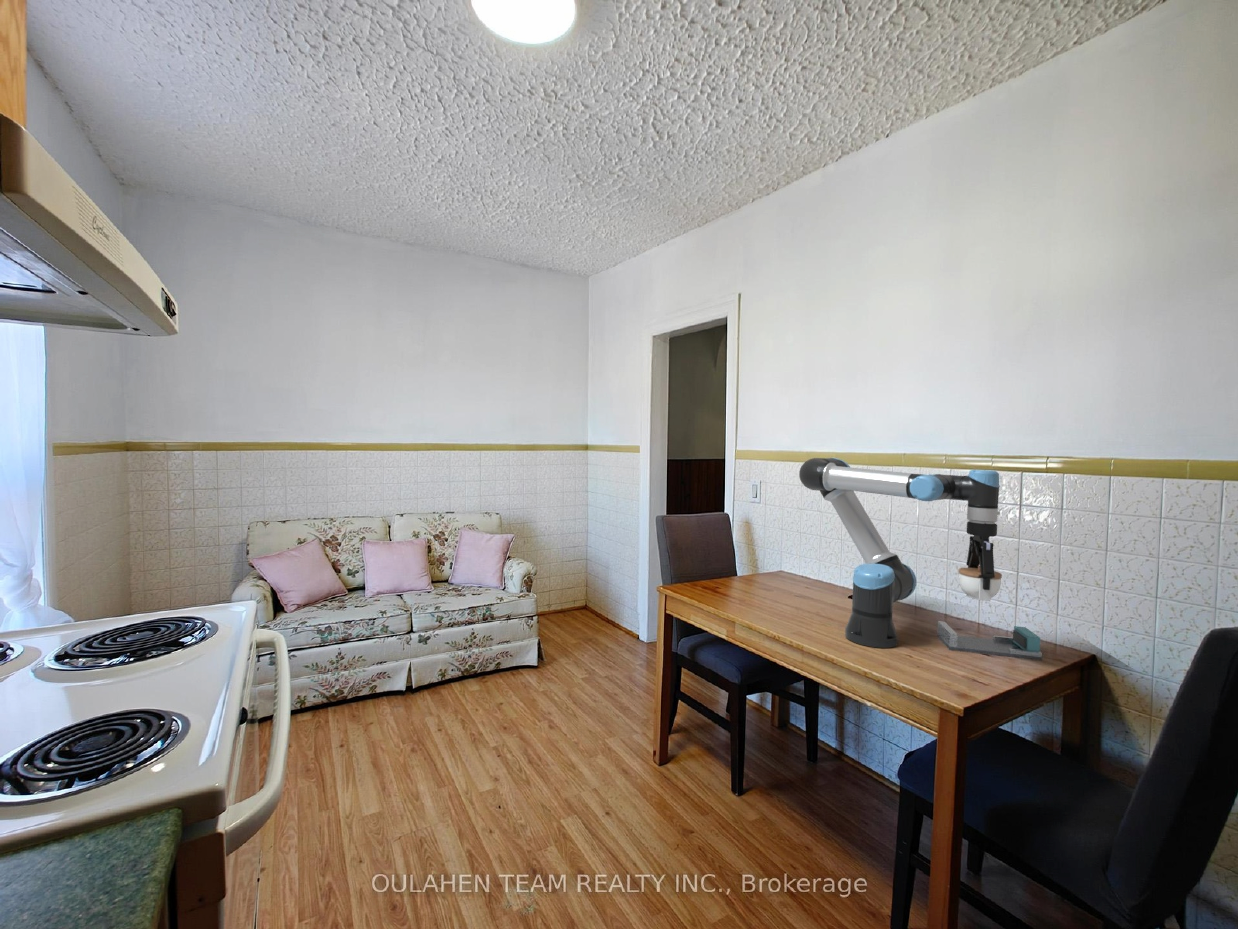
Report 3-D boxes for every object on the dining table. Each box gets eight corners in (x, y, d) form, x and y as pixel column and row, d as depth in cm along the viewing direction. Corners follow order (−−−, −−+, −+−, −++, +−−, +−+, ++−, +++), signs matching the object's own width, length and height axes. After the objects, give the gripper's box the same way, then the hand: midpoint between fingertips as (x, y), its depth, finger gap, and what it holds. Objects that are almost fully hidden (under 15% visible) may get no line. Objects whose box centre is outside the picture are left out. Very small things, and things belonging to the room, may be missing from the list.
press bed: (949, 649, 166) (950, 633, 166) (937, 636, 178) (937, 621, 178) (1041, 660, 159) (1042, 643, 159) (1022, 645, 172) (1022, 629, 171)
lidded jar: (998, 604, 154) (1000, 571, 154) (954, 597, 161) (956, 565, 160) (1002, 597, 162) (1004, 566, 162) (960, 590, 169) (961, 560, 169)
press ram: (1025, 652, 161) (1026, 636, 161) (1011, 641, 171) (1012, 625, 171) (1039, 654, 160) (1040, 637, 160) (1024, 643, 170) (1025, 627, 170)
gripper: (1010, 527, 149) (1006, 607, 149) (984, 518, 170) (981, 587, 171) (979, 525, 151) (975, 604, 152) (957, 516, 173) (954, 585, 174)
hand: (978, 595), depth 161 cm, fingers closed on lidded jar, 11 cm apart
